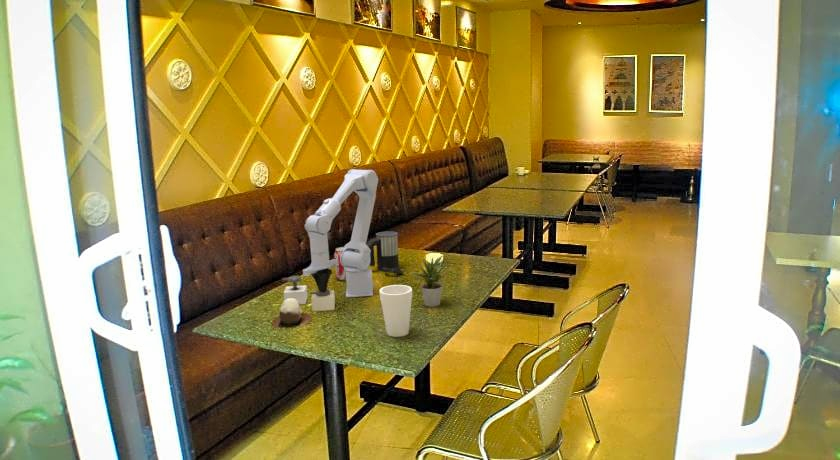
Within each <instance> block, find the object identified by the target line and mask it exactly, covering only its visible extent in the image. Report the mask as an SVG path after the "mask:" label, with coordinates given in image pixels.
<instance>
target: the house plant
mask: <svg viewBox="0 0 840 460" xmlns="http://www.w3.org/2000/svg"><path fill="white" fill-rule="evenodd" d="M443 257H444V255H440V257H438V258H436V259H435V261H434V257H432V258H431V262H429V261H428V260H426V259H425V258H423V257H422V256H420V258H421V262H422V264H423V265H424V267H425V268H423V267H422V266H421V265H420V264H418V263H416V262H413V265H416V266H417V267H418V268H419V269H420V270H421V271H422V272H421V273H420V272H415V271H408V273H409V274H411V275H413V276H414V278H413V282H416V281H418V280H422V281H423V284H422V285H420V288H421V289H420V290H421V295H422V298H423V302H424V306H425V307H438V306H440V304H441V298H442V291H443V284H441V283H439V280H441V278H443V277H448V276H449V277H450V275H449V274H446V275H441V274H442V272H441V271H442V270H443V269H444V268H445V267H446V265H445V263H446V261H444V263H443V260H444V259H442V258H443ZM408 263H410V264H412V262H408ZM442 263H443V264H442Z"/></svg>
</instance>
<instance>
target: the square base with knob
mask: <svg viewBox="0 0 840 460" xmlns="http://www.w3.org/2000/svg"><path fill="white" fill-rule="evenodd" d="M284 288H285V289H284V290H283V299H284V300H283V302H284V301H285V300H286V299H289V298H293V299H296V300H298V301H299V302H300V305H306V304H307V301H308V298H309V297H308V286H307V285H303V284H302V285H297V290H294V289H293V285H292V286H291V285H290V286H285V287H284Z"/></svg>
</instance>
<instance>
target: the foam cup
mask: <svg viewBox="0 0 840 460" xmlns="http://www.w3.org/2000/svg"><path fill="white" fill-rule="evenodd" d="M412 288H413V287H411V286H409V285H404V284H392V285H386V286H383V287H381V288H380V289H379V300H380V303H381V308H382V314H383V320H384V324H385V330H386V331H385V332H386V334H387V335H388V336H389V337H393V338H394V337H396V338H397V337H404V336H407V335H408V334H409V332H410V320H411V312H412V311H411V310H412V299H413V289H412Z"/></svg>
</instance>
